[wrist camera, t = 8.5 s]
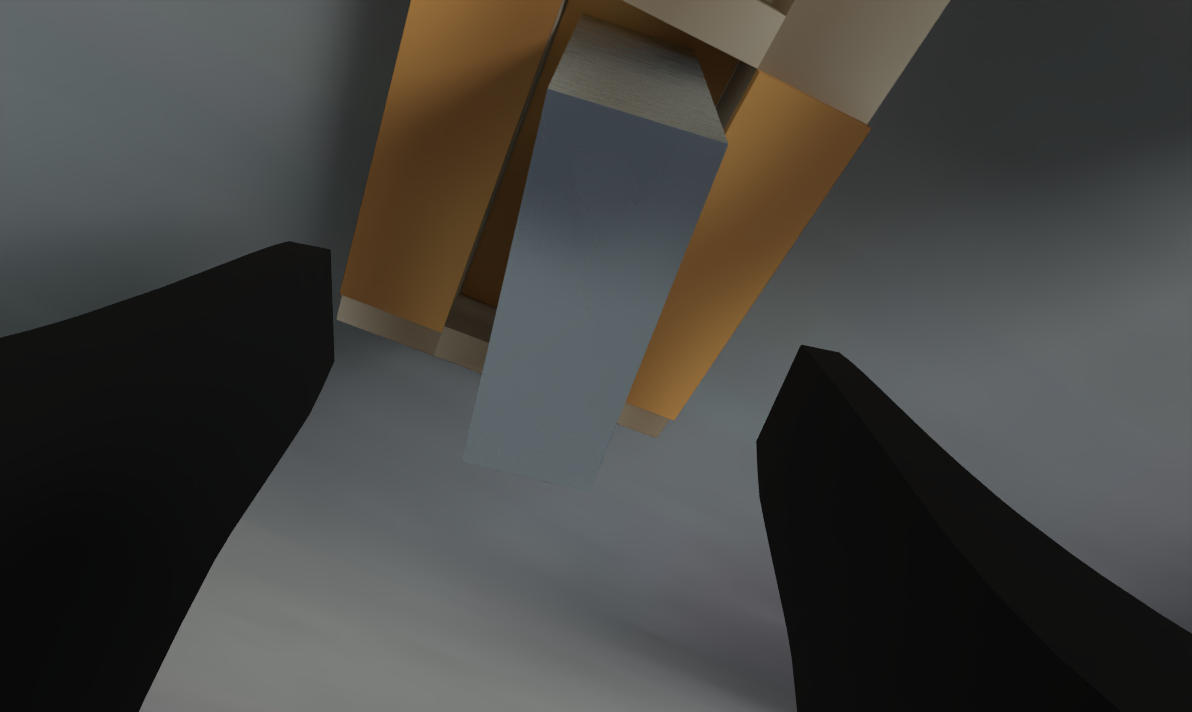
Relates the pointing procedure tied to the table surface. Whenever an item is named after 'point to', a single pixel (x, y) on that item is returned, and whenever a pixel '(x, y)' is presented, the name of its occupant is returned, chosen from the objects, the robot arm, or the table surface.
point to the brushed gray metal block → (593, 250)
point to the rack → (506, 142)
